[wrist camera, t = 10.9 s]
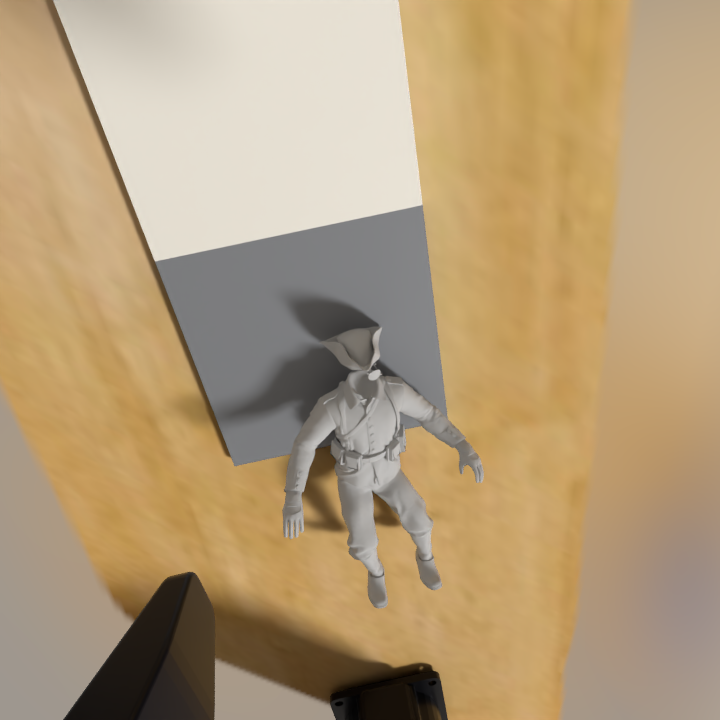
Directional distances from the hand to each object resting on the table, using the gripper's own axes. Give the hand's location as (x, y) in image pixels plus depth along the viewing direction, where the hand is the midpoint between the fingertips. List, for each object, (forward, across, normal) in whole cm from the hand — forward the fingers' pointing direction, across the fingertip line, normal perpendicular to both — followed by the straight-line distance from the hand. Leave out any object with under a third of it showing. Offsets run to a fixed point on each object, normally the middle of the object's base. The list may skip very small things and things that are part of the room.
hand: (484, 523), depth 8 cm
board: (+12, +3, -2) cm, 13 cm away
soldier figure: (+12, +2, +14) cm, 18 cm away
